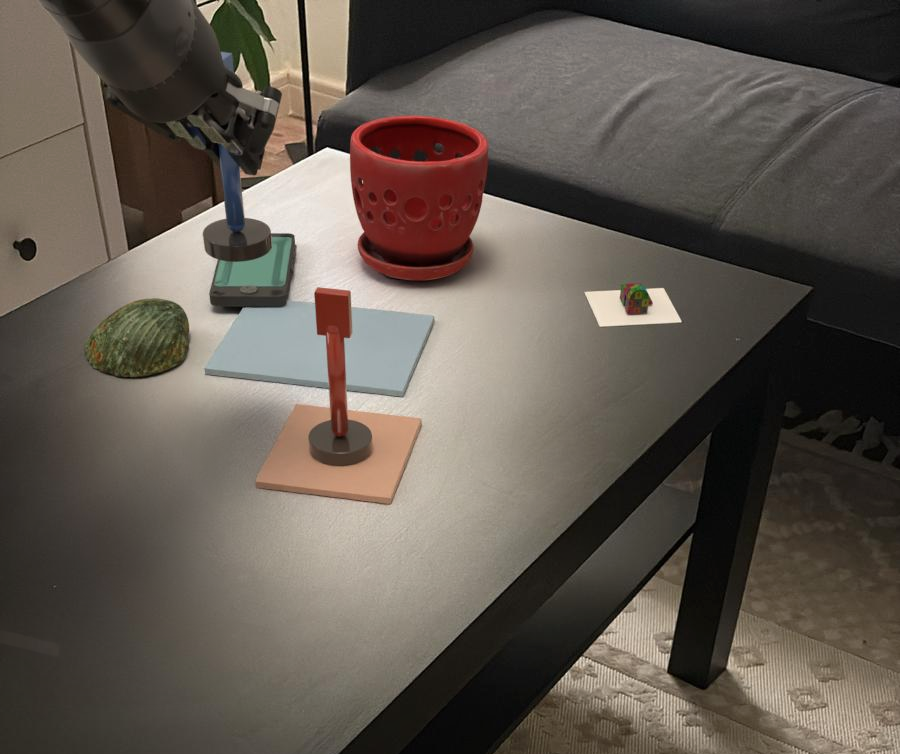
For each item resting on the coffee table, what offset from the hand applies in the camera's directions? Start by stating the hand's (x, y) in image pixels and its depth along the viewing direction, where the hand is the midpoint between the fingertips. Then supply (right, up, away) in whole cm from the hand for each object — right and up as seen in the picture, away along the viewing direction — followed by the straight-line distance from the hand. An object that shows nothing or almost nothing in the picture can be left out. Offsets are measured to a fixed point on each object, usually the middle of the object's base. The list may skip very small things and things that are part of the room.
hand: (242, 160), depth 97 cm
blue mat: (+4, -7, +21) cm, 22 cm away
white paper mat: (+33, -1, +27) cm, 43 cm away
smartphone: (-3, +3, +30) cm, 30 cm away
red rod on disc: (+7, -20, +8) cm, 22 cm away
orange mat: (+7, -20, +9) cm, 23 cm away
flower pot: (+13, +6, +33) cm, 36 cm away
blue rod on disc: (-1, -5, +3) cm, 6 cm away
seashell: (-12, -7, +20) cm, 25 cm away
